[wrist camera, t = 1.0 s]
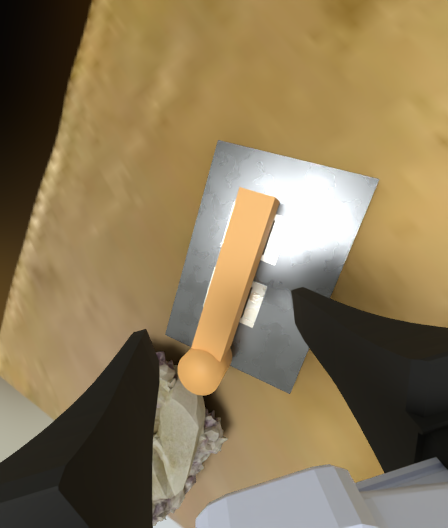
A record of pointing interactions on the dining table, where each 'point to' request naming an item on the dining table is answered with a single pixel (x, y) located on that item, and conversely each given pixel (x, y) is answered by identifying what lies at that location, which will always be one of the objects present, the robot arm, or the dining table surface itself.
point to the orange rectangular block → (228, 292)
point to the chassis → (272, 252)
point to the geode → (179, 440)
